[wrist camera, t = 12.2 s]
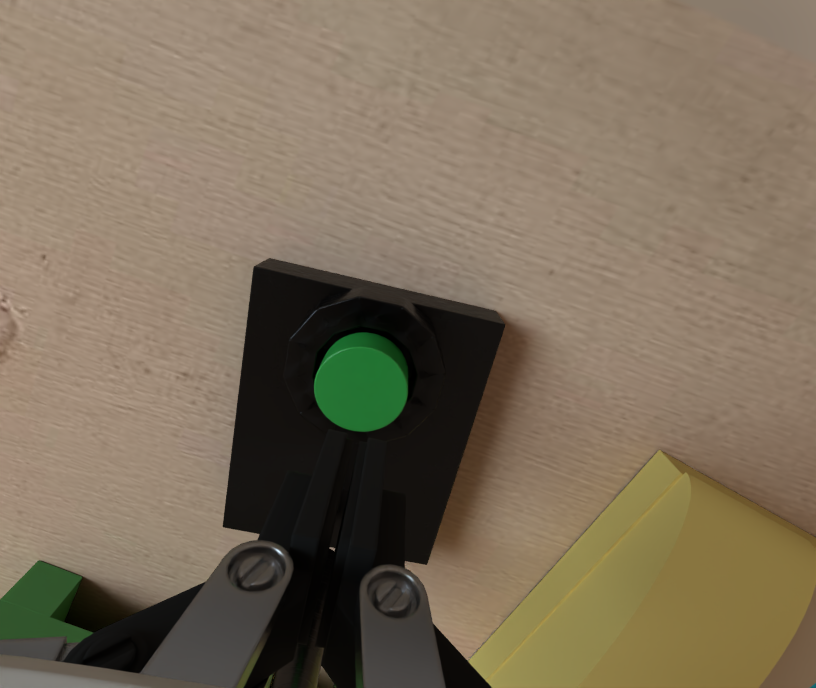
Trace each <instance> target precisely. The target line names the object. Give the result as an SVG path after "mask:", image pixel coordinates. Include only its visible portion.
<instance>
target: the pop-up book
mask: <svg viewBox="0 0 816 688" xmlns="http://www.w3.org/2000/svg"><path fill="white" fill-rule="evenodd" d="M468 662H469V663H470V664H471V665H472V666H473V668H474V669H475V670H476V671H477V672H478V673H479V674H480V675H481V676H482V677H483V678H484V679H485V681H486V682H487V683H488V684H489V685H490V686H491V687H492V688H816V537H814V536H812V535H810V534H809V533H807V532H805V531H803V530H801V529H800V528H798V527H796V526H794V525H793V524H791V523H789V522H787V521H785V520H784V519H782V518H780V517H778V516H777V515H775V514H773V513H771V512H769V511H768V510H766V509H764V508H762V507H760V506H759V505H757V504H755V503H753V502H752V501H750V500H748V499H746V498H744V497H743V496H741V495H739V494H737V493H736V492H734V491H732V490H730V489H728V488H727V487H725V486H723V485H721V484H719V483H718V482H716V481H714V480H712V479H711V478H709V477H707V476H705V475H703V474H702V473H700V472H698V471H696V470H695V469H693V468H691V467H689V466H687V465H686V464H684V463H682V462H680V461H678V460H677V459H675V458H673V457H671V456H670V455H668V454H666V453H664V452H662V451H661V450H659V451H658V452H657V453H656V454H655V455H654V456H653V457H652V458H651V459H650V461H649V462H648V463H647V464H646V465H645V466H644V467H643V468H642V469H641V471H640V472H639V473H638V474H637V475H636V476H635V477H634V478H633V479H632V480H631V482H630V483H629V484H628V485H627V486H626V487H625V488H624V489H623V490H622V492H621V493H620V494H619V495H618V496H617V497H616V498H615V499H614V500H613V502H612V503H611V504H610V505H609V506H608V507H607V508H606V509H605V510H604V511H603V513H602V514H601V515H600V516H599V517H598V518H597V519H596V520H595V521H594V523H593V524H592V525H591V526H590V527H589V528H588V529H587V530H586V531H585V533H584V534H583V535H582V536H581V537H580V538H579V539H578V540H577V541H576V543H575V544H574V545H573V546H572V547H571V548H570V549H569V550H568V551H567V552H566V554H565V555H564V556H563V557H562V558H561V559H560V560H559V561H558V562H557V564H556V565H555V566H554V567H553V568H552V569H551V570H550V571H549V572H548V574H547V575H546V576H545V577H544V578H543V579H542V580H541V581H540V582H539V583H538V585H537V586H536V587H535V588H534V589H533V590H532V591H531V592H530V593H529V595H528V596H527V597H526V598H525V599H524V600H523V601H522V602H521V603H520V605H519V606H518V607H517V608H516V609H515V610H514V611H513V612H512V613H511V614H510V616H509V617H508V618H507V619H506V620H505V621H504V622H503V623H502V624H501V626H500V627H499V628H498V629H497V630H496V631H495V632H494V633H493V634H492V636H491V637H490V638H489V639H488V640H487V641H486V642H485V643H484V644H483V645H482V647H481V648H480V649H479V650H478V651H477V652H476V653H475V654H474V655H473V657H472V658H471V659H470V660H469V661H468Z"/></svg>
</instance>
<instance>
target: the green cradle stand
mask: <svg viewBox="0 0 816 688" xmlns="http://www.w3.org/2000/svg"><path fill="white" fill-rule="evenodd" d="M81 580H82V577H81V576H79V575H76V574H74V573H71V572H68V571H66V570H63V569H60V568H58V567H55V566H52V565H50V564H47V563H44V562H42V561H38V562H37V563H36V564H35V565H34V566H33V567H32V568H31V569H30V570H29V571H28V572H27V573H26V574H25V575H24V576H23V577H22V578H21V579H20V580H19V581H18V582H17V583H16V584H15V585H14V586H13V587H12V588H11V589H10V590H9V591H8V592H7V593H6V594H5V595H4V596H3V597H2V598H1V600H0V640H2V639H22V638H42V637H62V636H67V643H74V642H81V641H82V640H83V639H84V638H86V637H88V636H89V635H91V634H93V632H90V631H87V630H84V629H82V628H79V627H76V626H73V625H70V624H68V623H65V622H64V621H65V619H66V616H67V614H68V612H69V609H70V607H71V604H72V602H73V599H74V597H75V594H76V592H77V590H78V587H79V585H80V582H81Z"/></svg>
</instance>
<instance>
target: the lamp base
mask: <svg viewBox="0 0 816 688" xmlns="http://www.w3.org/2000/svg"><path fill="white" fill-rule="evenodd" d="M504 328H505V324H504V322H503V321H502V319H501V318H500V316H499V315H498V313H497V312H496V311H494V310H490V309H485V308H481V307H477V306H472V305H468V304H464V303H460V302H455V301H451V300H447V299H442V298H438V297H434V296H430V295H425V294H421V293H417V292H412V291H408V290H404V289H400V288H395V287H391V286H387V285H382V284H378V283H374V282H370V281H365V280H361V279H357V278H352V277H348V276H344V275H339V274H335V273H331V272H327V271H322V270H318V269H314V268H309V267H305V266H301V265H297V264H292V263H288V262H284V261H279V260H275V259H271V258H269V259H267V260H265V261H263V262H261V263H259V264H258V265H256V266H254V268H253V276H252V285H251V293H250V302H249V310H248V318H247V327H246V335H245V344H244V352H243V360H242V369H241V377H240V386H239V394H238V403H237V411H236V419H235V428H234V436H233V445H232V453H231V462H230V470H229V478H228V487H227V495H226V504H225V512H224V521H223V527H225V528H230V529H236V530H241V531H247V532H252V533H257V534H260V533H261V531H262V528H263V526H264V524H265V521H266V519H267V517H268V515H269V512H270V510H271V508H272V505H273V503H274V501H275V499H276V496H277V494H278V492H279V489H280V487H281V485H282V483H283V480H284V478H285V476H286V474H287V472H288V471H289V470H290V471H295V472H300V473H305V474H310V475H313V472H314V469H315V466H316V463H317V461H318V458H319V455H320V452H321V449H322V446H323V443H324V440H325V437H326V434H327V432H328V429H331V430H335V431H340V432H345V433H347V438H348V439H353V440H354V441H353V445H352V450H351V454H350V459H349V463H348V467H347V472H346V476H345V481H344V485H343V490H342V494H341V498H340V503H339V507H338V512H337V516H336V521H335V525H334V529H333V534H332V538H331V543H330V547H333V548H336V544H337V539H338V534H339V529H340V525H341V520H342V516H343V512H344V507H345V503H346V499H347V494H348V490H349V486H350V481H351V477H352V473H353V468H354V464H355V460H356V455H357V451H358V447H359V442H360V441H362V442H367V441H368V437H369V438H373V439H378V440H383V441H387V450H386V461H385V471H384V481H383V489H384V490H389V491H394V492H398V493H403V494H405V495H406V518H405V561H409V562H414V563H419V564H425V565H427V563H428V560H429V557H430V554H431V551H432V548H433V545H434V542H435V539H436V536H437V533H438V530H439V526H440V523H441V520H442V517H443V514H444V511H445V508H446V505H447V502H448V499H449V496H450V493H451V490H452V487H453V484H454V481H455V478H456V474H457V471H458V468H459V465H460V462H461V459H462V456H463V453H464V450H465V447H466V444H467V441H468V438H469V435H470V432H471V429H472V425H473V422H474V419H475V416H476V413H477V410H478V407H479V404H480V401H481V398H482V395H483V392H484V389H485V386H486V383H487V380H488V377H489V373H490V370H491V367H492V364H493V361H494V358H495V355H496V352H497V349H498V346H499V343H500V340H501V337H502V334H503V331H504ZM362 332H364V333H373V334H377V335H380V336H383V337H385V338H387V339H388V340H390V341H391V342H393V343H394V344H395V345H396V346H397V347H398V348H399V349H400V351H401V352H402V354H403V355H404V357H405V360H406V362H407V366H408V397H407V401H406V404H405V407H404V409H403V411H402V412H401V413H400V415H399V416H398V417H397V418H396V419H395V420H394V421H393V422H391V423H390V424H388V425H387V426H385V427H383V428H380V429H377V430H373V431H366V432H359V431H352V430H348V429H345V428H342V427H340V426H338V425H336V424H335V423H333V422H332V421H331V420H330V419H328V418H327V417H326V416H325V414H324V413H323V412H322V411H321V409H320V408H319V405H318V403H317V401H316V398H315V393H314V381H315V377H316V374H317V371H318V369H319V367H320V365H321V363H322V361H323V359H324V357H325V355H326V353H327V351H328V350H329V348H330V347H331V346H332V345H333V344H334V343H335V342H336V341H338V340H339V339H341V338H343V337H345V336H347V335H350V334H354V333H362Z"/></svg>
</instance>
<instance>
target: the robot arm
mask: <svg viewBox="0 0 816 688" xmlns="http://www.w3.org/2000/svg"><path fill="white" fill-rule="evenodd" d="M353 441H354V440H353V439H348V438H347V433H345V432H340V431H335V430H331V429H328V432H327V434H326V437H325V440H324V443H323V446H322V449H321V452H320V455H319V458H318V461H317V463H316V466H315V469H314V472H313V475H310V474H305V473H300V472H295V471H290V470H289V471H288V472H287V474H286V476H285V478H284V480H283V483H282V485H281V487H280V489H279V492H278V494H277V496H276V499H275V501H274V503H273V505H272V508H271V510H270V512H269V515H268V517H267V519H266V521H265V524H264V526H263V528H262V531H261V533H260V535H259V537H258V540H256V541H249V542H246V543H242V544H240V545H238V546H236V547H235V548H233V549H231V550H230V551H229V553H228V554H227V555H226V556H225V557H224V558H223V559H222V561H221V562H220V563H219V565H218V566H217V568H216V569H215V570H214V572H213V573H212V574H211V576H210V577H209V579H208V580H207V581H206V582H204V583H202V584H200V585H197V586H195V587H193V588H191V589H189V590H186V591H184V592H182V593H180V594H178V595H175V596H173V597H171V598H169V599H166V600H164V601H162V602H160V603H158V604H155V605H153V606H151V607H149V608H147V609H144V610H142V611H140V612H138V613H136V614H133V615H131V616H129V617H127V618H124V619H122V620H120V621H118V622H116V623H113V624H111V625H109V626H107V627H105V628H102V629H100V630H98V631H96V632H95V633H93V634H91V635H89V636H88V637H86V638H84V639H83V640H82V641H81V642H74V643H67V636H62V637H42V638H22V639H2V640H0V688H269V687H270V684H271V680H272V677H273V673H275V672H276V671H278V670H279V669H281V668H282V667H284V666H285V665H287V664H288V663H290V662H291V661H293V660H294V656H295V652H296V648H297V644H302V645H307V643H308V639H309V634H310V630H311V626H312V621H313V617H314V612H315V608H316V604H317V599H318V595H319V591H320V586H321V582H322V578H323V573H324V569H325V564H326V560H327V556H328V551H329V547H330V543H331V538H332V534H333V529H334V525H335V521H336V516H337V512H338V507H339V503H340V498H341V494H342V490H343V485H344V481H345V476H346V472H347V467H348V463H349V459H350V454H351V450H352V445H353ZM386 450H387V441H383V440H378V439H373V438H369V437H368V441H367V442H362V441H360V442H359V447H358V451H357V455H356V460H355V464H354V468H353V473H352V477H351V481H350V486H349V490H348V494H347V499H346V503H345V507H344V512H343V516H342V520H341V525H340V529H339V534H338V539H337V544H336V548H335V553H334V558H333V562H332V567H331V572H330V577H329V581H328V586H327V591H326V596H325V600H324V605H323V610H322V615H321V619H320V624H319V629H318V633H317V638H316V643H315V647H319V648H324V650H323V656H322V661H321V666H322V667H323V668H324V669H325V671H326V672H327V674H328V675H329V677H330V678H331V680H332V681H333V683H334V686H333V688H492V687H491V686H490V685H489V684H488V683H487V682H486V681H485V679H484V678H483V677H482V676H481V675H480V674H479V673H478V672H477V671H476V670H475V669H474V668H473V666H472V665H471V664H470V663H469V662H468V661H467V660H466V659H465V658H464V657H463V656H462V654H461V653H460V652H459V651H458V650H457V649H456V648H455V647H454V646H453V645H452V644H451V643H450V641H449V640H448V639H447V638H446V637H445V636H444V635H443V634H442V633H441V632H440V631H439V630H438V628H437V627H436V626H435V625H434V624H433V622H432V617H431V612H430V607H429V602H428V597H427V593H426V590H425V588H424V585H423V584H422V582H421V581H420V580H419V578H418V577H417V576H416V575H414V574H413V573H412V572H411V571H409V570H407V569H405V518H406V495H405V494H403V493H398V492H394V491H389V490H384V489H383V481H384V471H385V461H386Z"/></svg>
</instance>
